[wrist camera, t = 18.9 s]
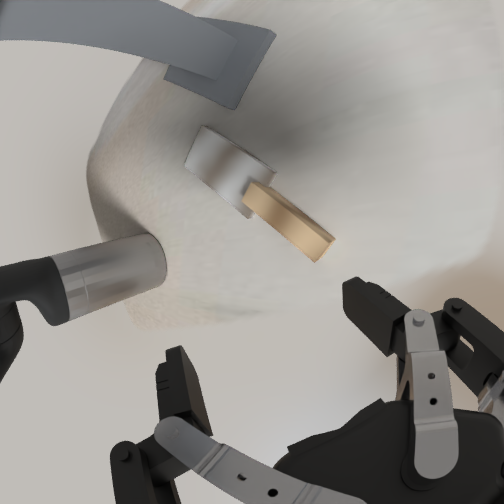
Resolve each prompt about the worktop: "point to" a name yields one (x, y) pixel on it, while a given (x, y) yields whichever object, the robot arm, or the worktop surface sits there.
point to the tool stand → (149, 39)
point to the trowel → (253, 190)
